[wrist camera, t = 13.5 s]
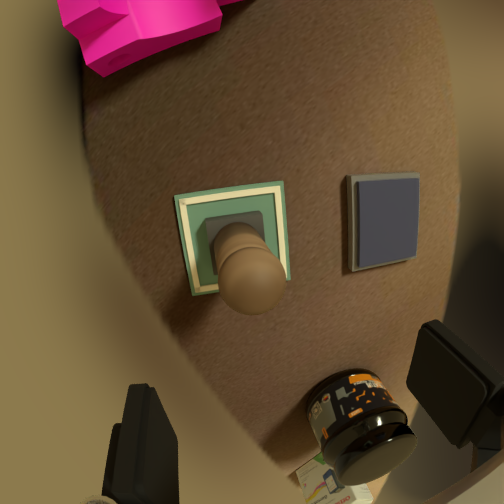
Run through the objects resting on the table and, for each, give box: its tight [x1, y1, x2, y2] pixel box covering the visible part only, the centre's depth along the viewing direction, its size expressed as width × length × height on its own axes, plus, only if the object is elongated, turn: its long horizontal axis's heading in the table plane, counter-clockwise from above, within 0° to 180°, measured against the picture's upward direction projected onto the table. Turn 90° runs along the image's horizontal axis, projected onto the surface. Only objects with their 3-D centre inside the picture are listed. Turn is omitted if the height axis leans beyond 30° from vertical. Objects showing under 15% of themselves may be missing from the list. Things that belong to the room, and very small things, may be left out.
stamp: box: [205, 210, 286, 315], centre depth 21 cm, size 4×4×10 cm
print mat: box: [174, 181, 290, 296], centre depth 26 cm, size 9×9×1 cm
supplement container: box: [305, 368, 417, 486], centre depth 29 cm, size 10×10×12 cm
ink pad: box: [346, 171, 420, 272], centre depth 27 cm, size 9×8×2 cm
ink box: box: [296, 452, 373, 504], centre depth 35 cm, size 9×5×12 cm, turn 141°
